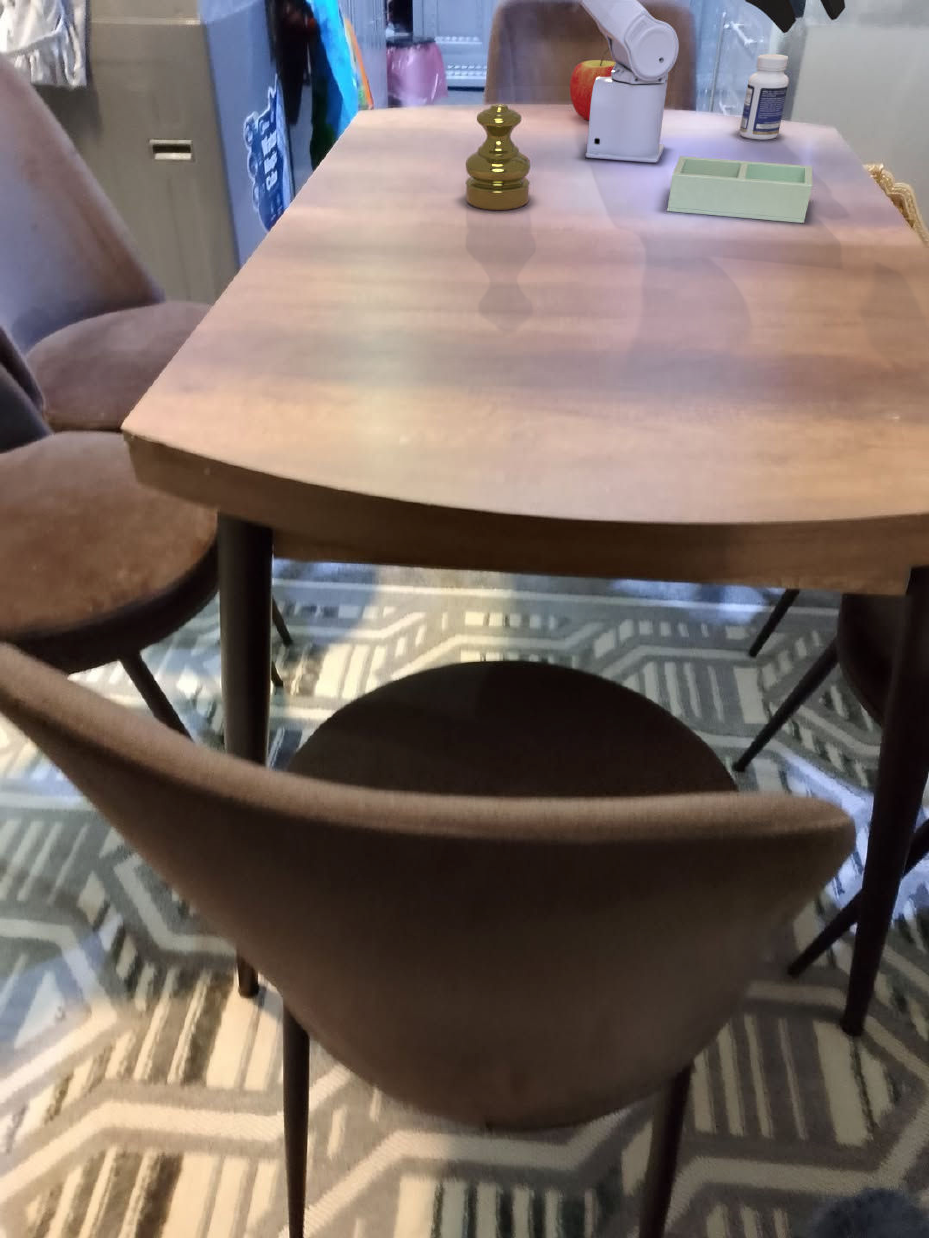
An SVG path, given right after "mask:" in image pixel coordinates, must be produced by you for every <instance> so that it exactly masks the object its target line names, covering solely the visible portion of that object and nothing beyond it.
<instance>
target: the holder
mask: <svg viewBox="0 0 929 1238" xmlns="http://www.w3.org/2000/svg"><path fill="white" fill-rule="evenodd" d="M812 190H813V166H812V165H803V164H789V163H775V162H764V161H763V162H762V161H748V160H738V159H737V160H735V159H722V158H710V157H696V156H684V155H683V156H682V155H679V157H678V160H677V163H676V165H675V167H674V169H673V172H672V175H671V180H670V189H669V195H668V202H667V209H666V211H667V212H673V213H674V212H675V213H685V214H696V215H709V216H718V217H729V218H730V217H731V218H741V219H742V218H743V219H753V220H763V221H775V222H786V223H787V222H788V223H798V224H804V223H805V219H806V216H807V211H808V207H809V204H810V203H809V202H810V198H811V193H812Z"/></svg>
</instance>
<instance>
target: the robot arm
mask: <svg viewBox="0 0 929 1238" xmlns="http://www.w3.org/2000/svg"><path fill="white" fill-rule="evenodd" d="M577 1H578V3H579V4H580V5H581V6H582V8H583V9H584V10H585V11H586V12H587V13H588V14H589V16H590V17H591V18H592V19H593V21H595V23H596V26H597V28H598V29H599V31H600V33H602V35H603V37H605V39H606V42H607V44H608V47H609V48H610V49H609V52H610V55H611V57H612V59H613V61H614V62H616V64H615V65H614V67H613V69H612V71H611V77H597V78H596V80H595V82H594V86H593V91H592V98H591V107H590V119H589V120H588V130H587V145H586V153H585V158H589V159H603V160H612V161H613V160H614V161H615V160H616V161H627V162H638V163H639V162H640V163H654V164H657V163H658V162H659V160H660V158H661V156H662V153H663V152H664V150H665V144H663V143H661V134H662V126H663V119H664V112H665V111H664V110H665V104H666V96H667V89H668V79H669V74H668V73H670V71H671V70H672V68H673V67H674V65H675V63H676V61H677V59H678V56H679V50H680V43H679V36H678V35H677V32H676V30H675V29H674V28H673V26H672V25H670V23H668V22H666V21H663V20H659V19H656V18H655V17H653V16H652V15H651V14H650V12H649V11H648V9H646V8H645V6H644V5H642V3H641V2H639V0H577ZM744 1H745V2H746V3H748V4H750V5H752V6H754V7H756V8H757V9H758V10H760V11H761V12H762V13H764V15H766V16H767V17H768V18H769V19H770V20H771V21H772V23H774V25H775V26H776V27H777V28H778V30H780V31H781V33H783V34H786V33H788V32H789V31H790V29H791V28H792V27H793V25H794V24H795V23H797V18H796V14H795V10H794V7H793V5H792V2H791V0H744ZM819 1H820V2H821V5H822V7H823V9H824V11H825V13H826V15H827V16H828V17H829V19H830V20H831V21H834V20H837V19H838V18H839V17H840V15H841V14H842V13H843V11H844V10H845V9H846V4H845V3H846V2H845V0H819Z"/></svg>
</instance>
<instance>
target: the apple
mask: <svg viewBox="0 0 929 1238" xmlns="http://www.w3.org/2000/svg"><path fill="white" fill-rule="evenodd" d="M608 51H610V48H609V46H608V47H607V48H606V49H605V52H604V53H603V55H602V56H601V59H597V60H596V59H593V60H586V61H582V62H579V64H577V65H576V66H575V67H574V69H573V71H572V73H571V78H570V84H569V96H570V99H571V104H572V106H573V108H574V110H575V112H576V114H577V115H578V116H579V117H580V118H582V119H583V120H586V121H589V119H590V107H591V98H592V91H593V86H594V82H595V80H596V78H597V77H611V71H612V69H613V67H614V65H615V64H616V62H615V61H614V60H613V61H612V60H604V58H605V56H606V54H607V52H608Z"/></svg>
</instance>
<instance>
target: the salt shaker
mask: <svg viewBox="0 0 929 1238" xmlns="http://www.w3.org/2000/svg"><path fill="white" fill-rule="evenodd" d="M476 122H477V123H478V124H479V125H480V126H481V128H483V130H484V131H485V134H486V139H485V140H484V142H483V143H482V144H481V145H480V146H479V147H478V148H477V151H475V152H473V153H472V154H470V155H469V157H467V159H466V161H465V170H466V171H465V172H466V173H467V174H468V176H470V177H468V178H467V179H466V180H465V187H466V188H465V189H466V190H465V196H466V197H465V200H466V201H467V203H468V204H469V205H471V206H472V207H475V208H478V209H482V210H488V211H508V210H513V209H517V208H521V207H523V206H524V205H526V204H527V203H528V201H529V196H530V195H529V194H530V193H529V192H530V190H529V189H530V184H531V182H530V181H529V179H528V178H526V177H527V176H528V174H529V173H530V171H531V161H530V159H529V158H528V156H526V155H525V154H524V153H522V152H521V151H520V149H519V147H518V146H516V144H515V143H514V142H513V141H512V138H511V135H512V132H513V131H514V129H515V128H516V127H517V126H518V125H519V124H521V122H522V115H521V113H520V112H517V111H516V110H515V109H513V108H510V107H509V106H508V105H507V104H506V103H493V104H492V105H491V106H490V107H488V108H485V109H483V110H482V111H480V112H479V113H478V114H476Z"/></svg>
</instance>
